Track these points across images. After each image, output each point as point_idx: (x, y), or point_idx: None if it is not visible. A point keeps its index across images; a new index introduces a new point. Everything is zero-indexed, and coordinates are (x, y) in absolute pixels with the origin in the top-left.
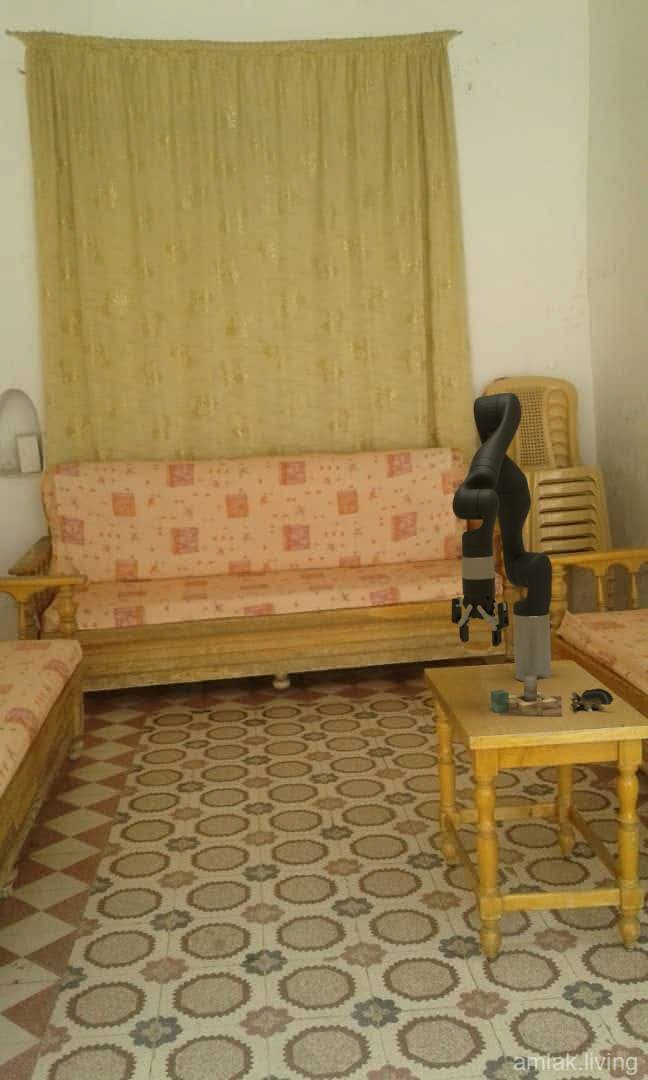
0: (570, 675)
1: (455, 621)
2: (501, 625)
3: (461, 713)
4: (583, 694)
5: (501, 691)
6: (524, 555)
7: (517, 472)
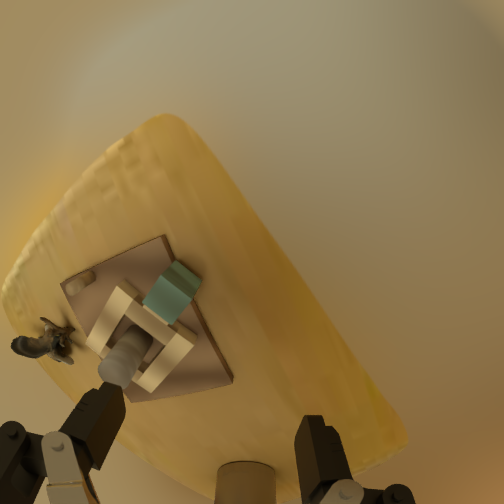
0: (202, 485)
1: (384, 497)
2: (5, 432)
3: (278, 257)
4: (45, 352)
5: (163, 305)
6: None
7: None
